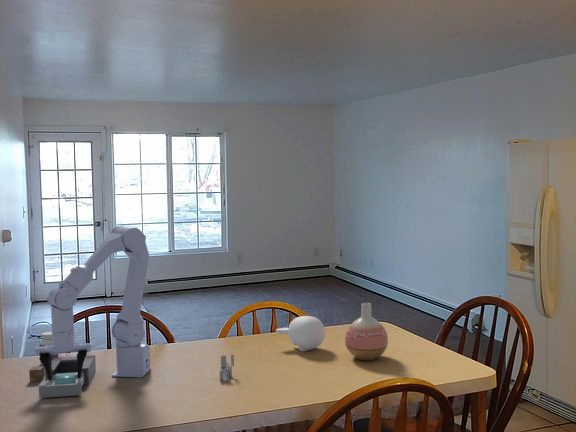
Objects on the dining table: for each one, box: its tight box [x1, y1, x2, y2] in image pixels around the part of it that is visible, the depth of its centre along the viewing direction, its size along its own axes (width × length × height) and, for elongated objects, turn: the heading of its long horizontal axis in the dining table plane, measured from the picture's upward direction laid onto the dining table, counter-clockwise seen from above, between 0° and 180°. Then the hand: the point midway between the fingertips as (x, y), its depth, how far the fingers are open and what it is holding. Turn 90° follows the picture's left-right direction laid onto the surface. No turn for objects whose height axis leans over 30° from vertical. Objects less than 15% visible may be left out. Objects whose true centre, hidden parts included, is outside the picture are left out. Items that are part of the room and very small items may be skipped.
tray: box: [38, 372, 86, 399], centre depth 170 cm, size 11×12×3 cm
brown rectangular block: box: [28, 365, 45, 383], centre depth 179 cm, size 3×3×4 cm
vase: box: [344, 302, 389, 362], centre depth 195 cm, size 14×14×18 cm
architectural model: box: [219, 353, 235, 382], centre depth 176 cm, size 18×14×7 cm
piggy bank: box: [275, 315, 326, 352], centre depth 206 cm, size 12×12×15 cm
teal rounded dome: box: [55, 373, 76, 385], centre depth 171 cm, size 6×6×2 cm
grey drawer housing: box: [44, 355, 97, 386], centre depth 179 cm, size 12×12×5 cm
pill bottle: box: [39, 331, 59, 366], centre depth 194 cm, size 5×5×10 cm
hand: (65, 378), depth 171 cm, fingers open, 7 cm apart
